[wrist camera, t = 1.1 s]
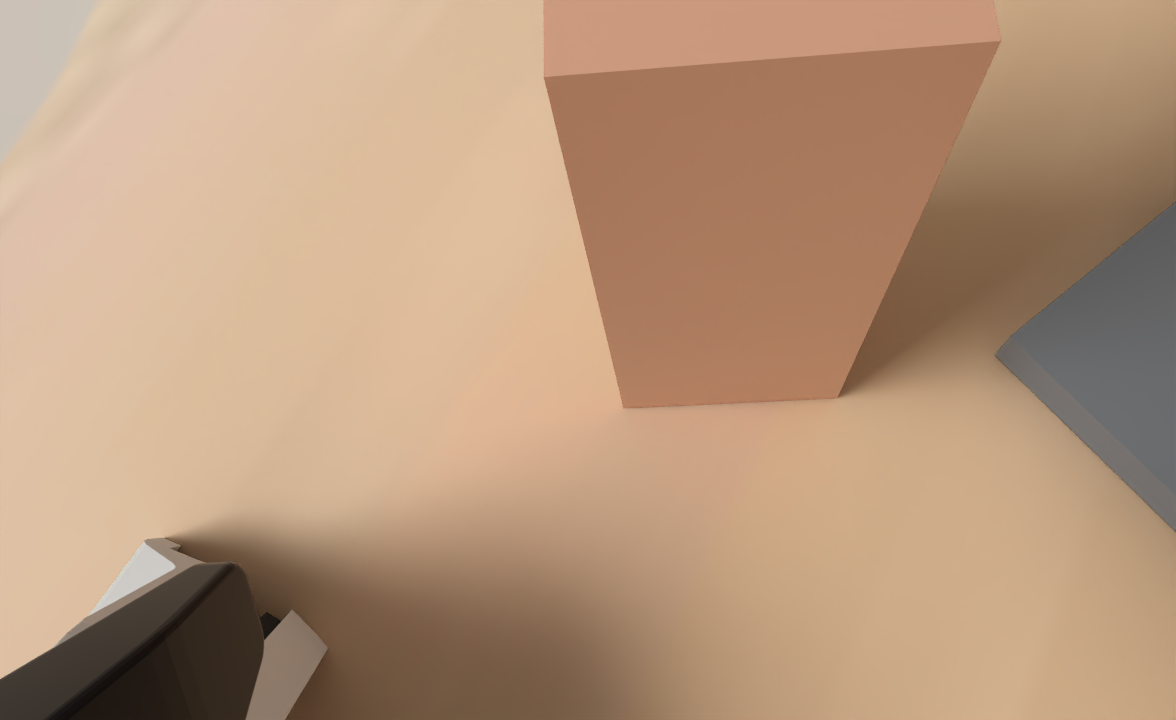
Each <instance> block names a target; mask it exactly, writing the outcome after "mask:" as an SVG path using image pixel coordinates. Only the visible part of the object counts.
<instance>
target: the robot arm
mask: <svg viewBox="0 0 1176 720" xmlns="http://www.w3.org/2000/svg"><path fill="white" fill-rule="evenodd" d="M263 654H264V634H263V629H262V626H261V622H260V619H259V615H258V612H257V608H256V605H255V601H254V598H253V595H252V591H251V588H250V584H249V581H248V577H247V575H246V572H245V570H244V569H243V567H242V566H241V565H239V564H238V563H236V562H233V561H227V562H213V563H199V564H196V565H193V566H191V567H189V568H187V569H186V570H184V571H182V572H181V573H179V574H177V575H176V576H174V577H172V578H170V579H169V580H167V581H165V582H164V583H162V584H160V585H159V586H157V587H155V588H154V589H152V590H150V591H148V592H147V593H145V594H143V595H142V596H140V597H138V598H137V599H135V600H133V601H132V602H130V603H128V604H127V605H125V606H123V607H121V608H120V609H118V610H116V611H115V612H113V613H111V614H110V615H108V616H106V617H105V618H103V619H101V620H99V621H98V622H96V623H94V624H93V625H91V626H89V627H88V628H86V629H84V630H83V631H81V632H79V633H77V634H76V635H74V636H72V637H71V638H69V639H67V640H66V641H64V642H62V643H61V644H59V645H57V646H55V647H54V648H52V649H50V650H49V651H47V652H45V653H44V654H42V655H40V656H39V657H37V658H35V659H34V660H32V661H30V662H28V663H27V664H25V665H23V666H22V667H20V668H18V669H17V670H15V671H13V672H12V673H10V674H8V675H6V676H5V677H3V678H1V679H0V720H246V717H247V714H248V710H249V706H250V703H251V699H252V695H253V692H254V688H255V685H256V681H257V677H258V674H259V670H260V667H261V663H262V659H263Z"/></svg>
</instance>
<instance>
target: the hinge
mask: <svg viewBox="0 0 1176 720" xmlns="http://www.w3.org/2000/svg"><path fill="white" fill-rule="evenodd" d="M180 547H181V545H179V544H176V543H174V542H172V541H170V540H167V539H165V538H155V539H147V540H145V541H144V542H143V543H142V545H141V546H140V547H139V549H138V550H137V551H136V553H135V554H134V555H133V557H132V558H131V559H130V561H129V562H128V563H127V565H126V566H125V567H124V569H123V570H122V571H121V573H120V574H119V576H118V577H117V578H116V580H115V581H114V582H113V584H112V585H111V586H110V588H109V589H108V590H107V592H106V593H105V594H104V596H103V597H102V598H101V600H100V601H99V602H98V604H97V605H96V606H95V608H94V609H93V611H92V612H91V613H90V615H89V616H88V617H86V618H84V619H83V620H82V621H81V622H79V623H78V624H77V625H76V626H75V627H74V628H72V629H71V630H70V631H69V632H68V633H67V634H66V635H65V636H64V637H63V638H62V639H61V640H60V641H59V642H58V643H57V644H56V645H55V646H57V645H59V644H61V643H62V642H64V641H66V640H67V639H69V638H71V637H72V636H74V635H76V634H77V633H79V632H81V631H83V630H84V629H86V628H88V627H89V626H91V625H93V624H94V623H96V622H98V621H99V620H101V619H103V618H105V617H106V616H108V615H110V614H111V613H113V612H115V611H116V610H118V609H120V608H121V607H123V606H125V605H127V604H128V603H130V602H132V601H133V600H135V599H137V598H138V597H140V596H142V595H143V594H145V593H147V592H148V591H150V590H152V589H154V588H155V587H157V586H159V585H160V584H162V583H164V582H165V581H167V580H169V579H170V578H172V577H174V576H176V575H177V574H179V573H181V572H182V571H184V570H186V569H187V568H189V567H191V566H193V565H196V564H199V563H205V562H202V561H200V560H197V559H195V558H192V557H190V556H187V555H185V554H182V553H180V552H177V551H178V550H179V548H180ZM260 622H261V626H262V629H263V634H264V654H263V659H262V663H261V667H260V670H259V674H258V677H257V681H256V685H255V688H254V692H253V695H252V699H251V703H250V706H249V710H248V714H247V717H246V720H285V719H286V717H287V716H288V714H289V712H290V711H291V709H292V707H293V706H294V704H295V702H296V701H297V699H298V697H299V696H300V694H301V692H302V691H303V689H304V688H305V686H306V684H307V683H308V681H309V679H310V678H311V676H312V674H313V673H314V671H315V669H316V668H317V666H318V664H319V663H320V661H321V659H322V658H323V656H324V654H325V653H326V651H327V649H328V647H327V646H326V645H325V643H324V642H323V641H322V640H321V638H320V637H319V636H318V635H317V634H316V633H315V632H314V631H313V630H312V629H311V628H310V627H309V626H308V625H307V624H306V623H305V622H304V621H303V619H302V618H301V617H300V616H299V615H298V614H297V613H296V612H295V611H294V610H291V611H290V612H289V613H288V615H287V616H286V617H285V618H284V619H283V620H282V621H280V620H278V619H277V618H275V617H274V616H272V615H270V614H269V613H267V612H266V613H265V614H264V615H263V616H262V617H261V618H260ZM55 646H54V647H55ZM54 647H53V648H54Z"/></svg>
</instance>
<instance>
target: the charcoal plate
mask: <svg viewBox="0 0 1176 720" xmlns="http://www.w3.org/2000/svg"><path fill="white" fill-rule="evenodd" d="M995 356H996V357H997V358H998V359H999V360H1000V361H1001V362H1002V363H1003V364H1004V365H1005V366H1006V367H1007V368H1008V369H1009V370H1010V371H1011V372H1012V373H1014V374H1015V375H1016V376H1017V377H1018V378H1019V379H1020V380H1021V381H1022V382H1023V383H1024V384H1025V385H1026V386H1027V387H1028V388H1029V389H1030V390H1031V391H1032V392H1033V393H1034V394H1035V395H1036V396H1037V397H1038V398H1039V399H1040V400H1041V401H1042V402H1043V403H1044V404H1045V405H1046V406H1047V407H1048V408H1049V409H1050V410H1051V411H1052V412H1054V413H1055V414H1056V415H1057V416H1058V417H1059V418H1060V419H1061V420H1062V421H1063V422H1064V423H1065V424H1066V425H1067V426H1068V427H1069V428H1070V429H1071V430H1072V431H1073V432H1074V433H1075V434H1076V435H1077V436H1078V437H1079V438H1080V439H1081V440H1082V441H1083V442H1084V443H1085V444H1086V445H1087V446H1088V447H1089V448H1090V449H1091V450H1092V451H1093V452H1095V453H1096V454H1097V455H1098V456H1099V457H1100V458H1101V459H1102V460H1103V461H1104V462H1105V463H1106V464H1107V465H1108V466H1109V467H1110V468H1111V469H1112V470H1113V471H1114V472H1115V473H1116V474H1117V475H1118V476H1119V477H1120V478H1121V479H1122V480H1123V481H1124V482H1125V483H1126V484H1127V485H1128V486H1129V487H1130V488H1131V489H1132V490H1133V491H1135V492H1136V493H1137V494H1138V495H1139V496H1140V497H1141V498H1142V499H1143V500H1144V501H1145V502H1146V503H1147V504H1148V505H1149V506H1150V507H1151V508H1152V509H1153V510H1154V511H1155V512H1156V513H1157V514H1158V515H1159V516H1160V517H1161V518H1162V519H1163V520H1164V521H1165V522H1166V523H1167V524H1168V525H1169V526H1170V527H1171V528H1172V529H1173V530H1174V531H1176V202H1175V203H1173V204H1172V205H1171V206H1170V207H1168V208H1167V209H1166V210H1165V211H1164V212H1162V213H1161V214H1160V215H1159V216H1157V217H1156V218H1155V219H1154V220H1153V221H1151V222H1150V223H1149V224H1148V225H1146V226H1145V227H1144V228H1143V229H1142V230H1140V231H1139V232H1138V233H1137V234H1135V235H1134V236H1133V237H1132V238H1131V239H1129V240H1128V241H1127V242H1126V243H1124V244H1123V245H1122V246H1121V247H1119V248H1118V249H1117V250H1116V251H1115V252H1113V253H1112V254H1111V255H1110V256H1108V257H1107V258H1106V259H1105V260H1104V261H1102V262H1101V263H1100V264H1099V265H1097V266H1096V267H1095V268H1094V269H1093V270H1091V271H1090V272H1089V273H1088V274H1086V275H1085V276H1084V277H1083V278H1081V279H1080V280H1079V281H1078V282H1077V283H1075V284H1074V285H1073V286H1072V287H1070V288H1069V289H1068V290H1067V291H1066V292H1064V293H1063V294H1062V295H1061V296H1059V297H1058V298H1057V299H1056V300H1055V301H1053V302H1052V303H1051V304H1050V305H1048V306H1047V307H1046V308H1045V309H1044V310H1042V311H1041V312H1040V313H1039V314H1037V315H1036V316H1035V317H1034V318H1032V319H1031V320H1030V321H1029V322H1028V323H1026V324H1025V325H1024V326H1023V327H1021V328H1020V329H1019V330H1018V331H1017V332H1015V333H1014V334H1013V335H1012V336H1010V337H1009V339H1008V340H1007V341H1006V342H1005V343H1004V345H1003V346H1002V347H1001V348H1000V349H999V350H998V352H997V353H996V354H995Z"/></svg>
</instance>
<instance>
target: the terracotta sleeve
mask: <svg viewBox="0 0 1176 720" xmlns="http://www.w3.org/2000/svg"><path fill="white" fill-rule="evenodd" d="M1000 42H1001V38H1000V33H999V28H998V23H997V17H996V12H995V7H994V2H993V0H544V80H545V84H546V88H547V92H548V96H549V100H550V104H551V109H552V113H553V117H554V121H555V125H556V129H557V134H558V138H559V142H560V146H561V150H562V154H563V158H564V163H565V167H566V171H567V175H568V179H569V183H570V188H571V192H572V196H573V200H574V204H575V208H576V212H577V217H578V221H579V225H580V229H581V233H582V237H583V242H584V246H585V250H586V254H587V258H588V262H589V266H590V271H591V275H592V279H593V283H594V287H595V291H596V296H597V300H598V304H599V308H600V312H601V316H602V320H603V325H604V329H605V333H606V337H607V341H608V345H609V349H610V354H611V358H612V362H613V366H614V370H615V374H616V379H617V383H618V387H619V391H620V395H621V399H622V403H623V408H637V407H658V406H679V405H700V404H721V403H742V402H763V401H784V400H805V399H826V398H837V397H838V395H839V393H840V391H841V389H842V387H843V384H844V382H845V380H846V378H847V376H848V373H849V371H850V369H851V367H852V365H853V363H854V360H855V358H856V356H857V354H858V352H859V349H860V347H861V345H862V343H863V341H864V339H865V336H866V334H867V332H868V330H869V328H870V325H871V323H872V321H873V319H874V317H875V315H876V312H877V310H878V308H879V306H880V304H881V301H882V299H883V297H884V295H885V293H886V291H887V288H888V286H889V284H890V282H891V280H892V277H893V275H894V273H895V271H896V269H897V267H898V264H899V262H900V260H901V258H902V256H903V254H904V251H905V249H906V247H907V245H908V243H909V240H910V238H911V236H912V234H913V232H914V230H915V227H916V225H917V223H918V221H919V219H920V216H921V214H922V212H923V210H924V208H925V206H926V203H927V201H928V199H929V197H930V195H931V192H932V190H933V188H934V186H935V184H936V182H937V179H938V177H939V175H940V173H941V171H942V168H943V166H944V164H945V162H946V160H947V158H948V155H949V153H950V151H951V149H952V147H953V144H954V142H955V140H956V138H957V136H958V134H959V131H960V129H961V127H962V125H963V123H964V120H965V118H966V116H967V114H968V112H969V110H970V107H971V105H972V103H973V101H974V99H975V97H976V94H977V92H978V90H979V88H980V86H981V83H982V81H983V79H984V77H985V75H986V73H987V70H988V68H989V66H990V64H991V62H992V59H993V57H994V55H995V53H996V51H997V49H998V46H999V44H1000Z"/></svg>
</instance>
